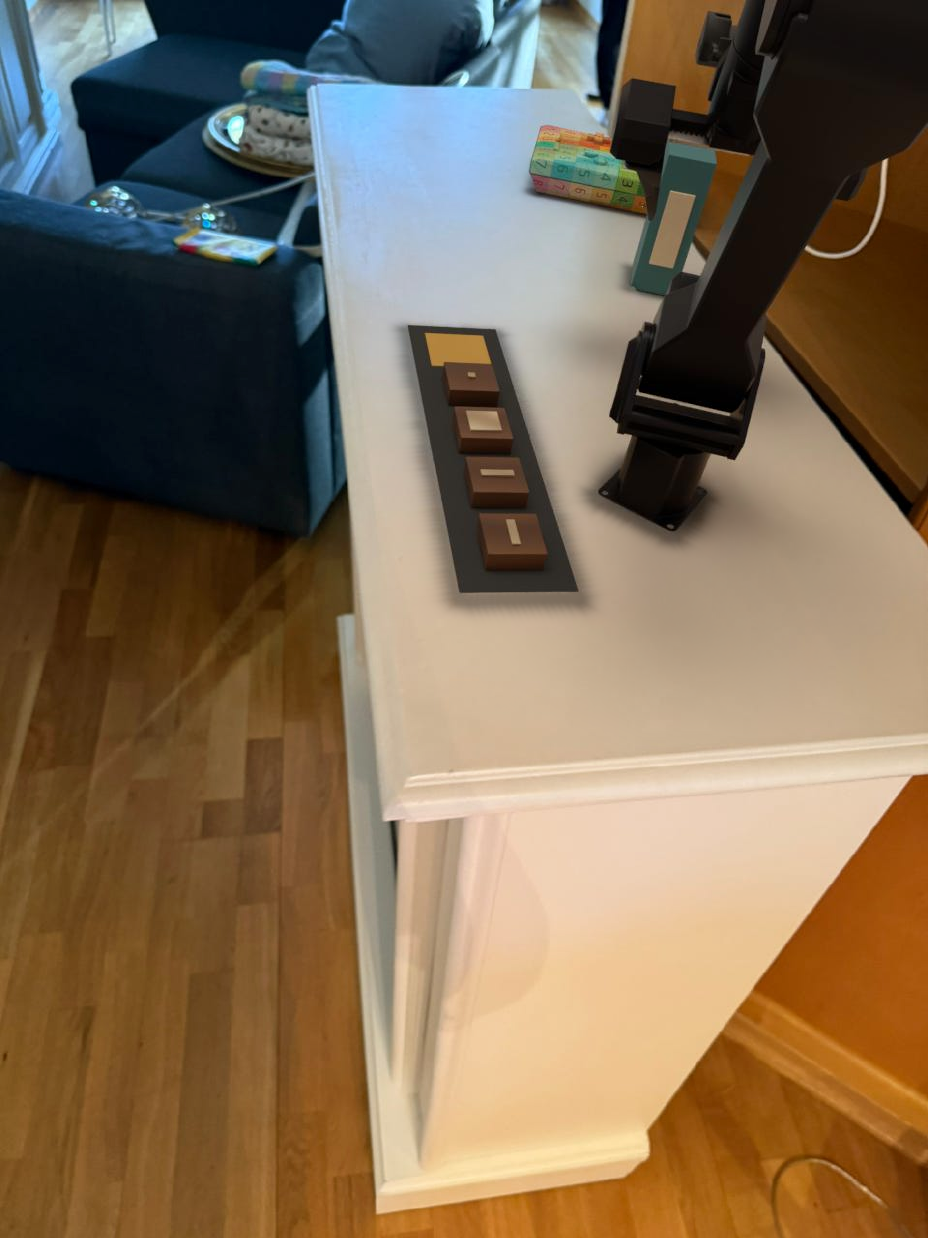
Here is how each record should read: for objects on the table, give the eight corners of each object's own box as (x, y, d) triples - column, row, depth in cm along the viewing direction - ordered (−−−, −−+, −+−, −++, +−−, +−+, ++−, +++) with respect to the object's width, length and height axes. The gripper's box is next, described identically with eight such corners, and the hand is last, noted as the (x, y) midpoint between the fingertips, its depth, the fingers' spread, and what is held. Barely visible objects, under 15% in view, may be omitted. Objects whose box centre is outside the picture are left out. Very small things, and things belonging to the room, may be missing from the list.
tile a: (543, 570, 60) (548, 551, 59) (484, 570, 59) (488, 551, 58) (531, 529, 63) (536, 511, 61) (475, 529, 62) (479, 511, 61)
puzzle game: (542, 117, 109) (704, 150, 109) (534, 158, 112) (692, 190, 112) (532, 151, 101) (707, 187, 100) (524, 194, 104) (694, 228, 104)
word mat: (577, 597, 59) (579, 590, 59) (458, 598, 58) (459, 591, 57) (494, 334, 81) (495, 328, 81) (406, 330, 80) (407, 323, 79)
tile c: (510, 454, 68) (514, 436, 67) (458, 453, 67) (461, 435, 66) (501, 423, 71) (505, 405, 70) (451, 422, 70) (454, 404, 69)
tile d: (496, 407, 72) (500, 389, 71) (447, 405, 72) (450, 387, 70) (488, 379, 75) (492, 361, 74) (441, 377, 74) (443, 359, 73)
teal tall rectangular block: (674, 298, 91) (717, 164, 82) (630, 290, 91) (668, 155, 82) (673, 276, 95) (714, 145, 85) (631, 267, 95) (668, 136, 85)
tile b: (525, 508, 64) (530, 490, 63) (470, 508, 63) (474, 489, 62) (515, 473, 67) (519, 455, 66) (462, 472, 66) (465, 454, 65)
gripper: (910, -6, 64) (818, 178, 78) (650, -52, 64) (606, 140, 79) (911, 101, 59) (814, 275, 74) (633, 51, 60) (590, 233, 74)
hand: (705, 226), depth 75 cm, fingers open, 9 cm apart
